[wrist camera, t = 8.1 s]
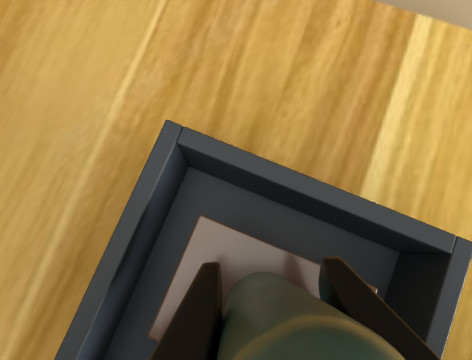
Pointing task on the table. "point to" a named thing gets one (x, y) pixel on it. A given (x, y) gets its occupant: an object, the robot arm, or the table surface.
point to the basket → (265, 228)
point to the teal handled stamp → (268, 302)
